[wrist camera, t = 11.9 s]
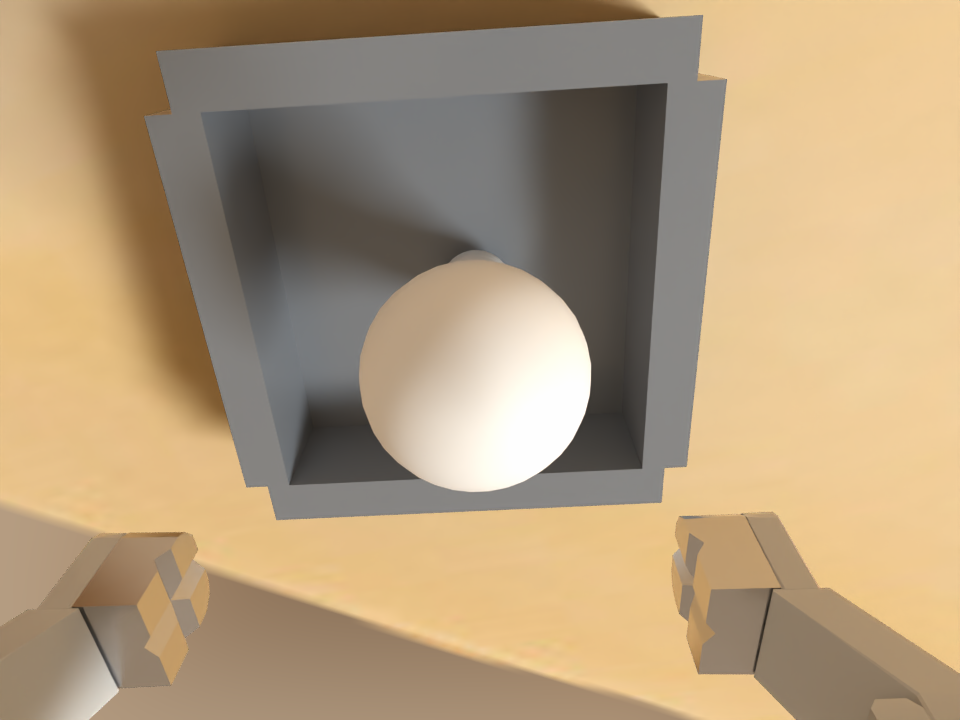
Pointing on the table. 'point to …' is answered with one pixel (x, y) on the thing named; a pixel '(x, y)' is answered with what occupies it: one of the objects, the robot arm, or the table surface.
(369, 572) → the table surface
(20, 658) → the robot arm
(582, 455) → the gray square tray
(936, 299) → the table surface
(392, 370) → the lightbulb
